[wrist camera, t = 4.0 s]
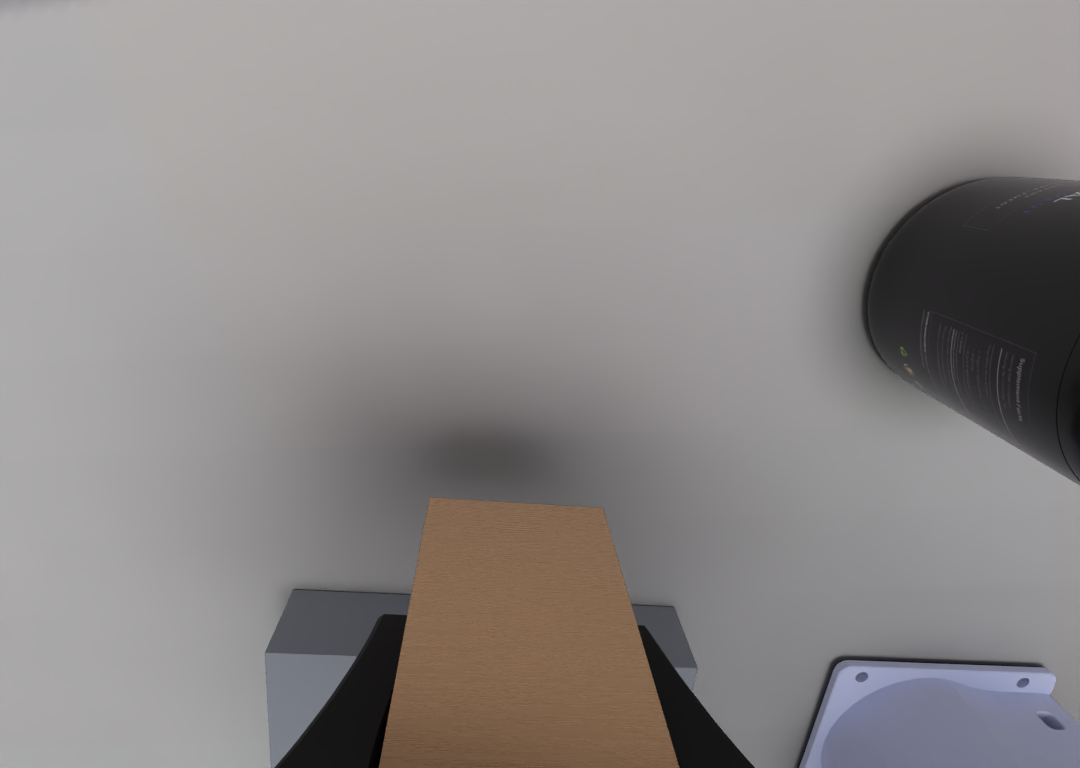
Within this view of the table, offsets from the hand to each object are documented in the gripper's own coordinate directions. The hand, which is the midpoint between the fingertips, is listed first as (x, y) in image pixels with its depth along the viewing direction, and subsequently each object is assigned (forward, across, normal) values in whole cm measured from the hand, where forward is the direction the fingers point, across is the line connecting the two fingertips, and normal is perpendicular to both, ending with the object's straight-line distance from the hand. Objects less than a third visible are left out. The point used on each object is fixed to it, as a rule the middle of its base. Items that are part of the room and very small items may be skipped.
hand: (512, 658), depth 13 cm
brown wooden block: (+3, 0, 0) cm, 3 cm away
